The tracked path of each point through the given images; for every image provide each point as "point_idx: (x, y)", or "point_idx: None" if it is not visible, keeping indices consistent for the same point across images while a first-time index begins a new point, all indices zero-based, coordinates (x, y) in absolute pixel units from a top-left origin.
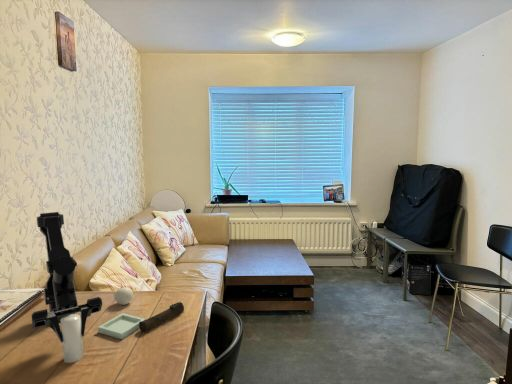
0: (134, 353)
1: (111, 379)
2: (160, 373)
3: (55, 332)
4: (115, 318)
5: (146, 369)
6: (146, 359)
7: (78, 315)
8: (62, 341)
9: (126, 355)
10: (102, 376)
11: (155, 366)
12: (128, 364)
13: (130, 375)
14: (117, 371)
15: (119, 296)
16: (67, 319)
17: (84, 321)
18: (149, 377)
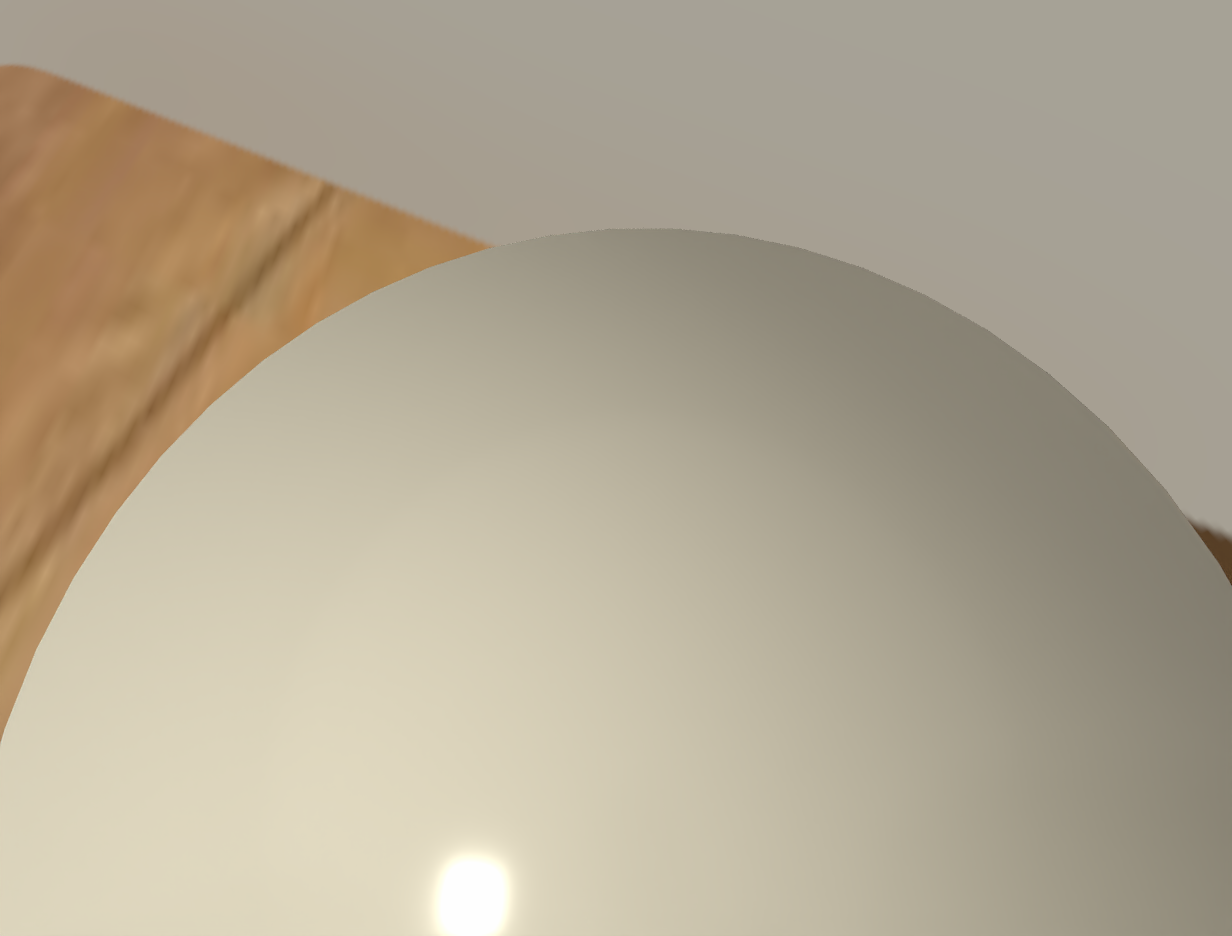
0: (33, 496)
1: (362, 195)
2: (38, 135)
3: None
4: None
5: (87, 212)
6: (7, 342)
7: (60, 903)
8: None
9: (114, 496)
10: (416, 256)
11: (13, 221)
12: (169, 333)
13: (221, 188)
14: (287, 273)
15: None
16: (786, 580)
17: None
18: (122, 123)
